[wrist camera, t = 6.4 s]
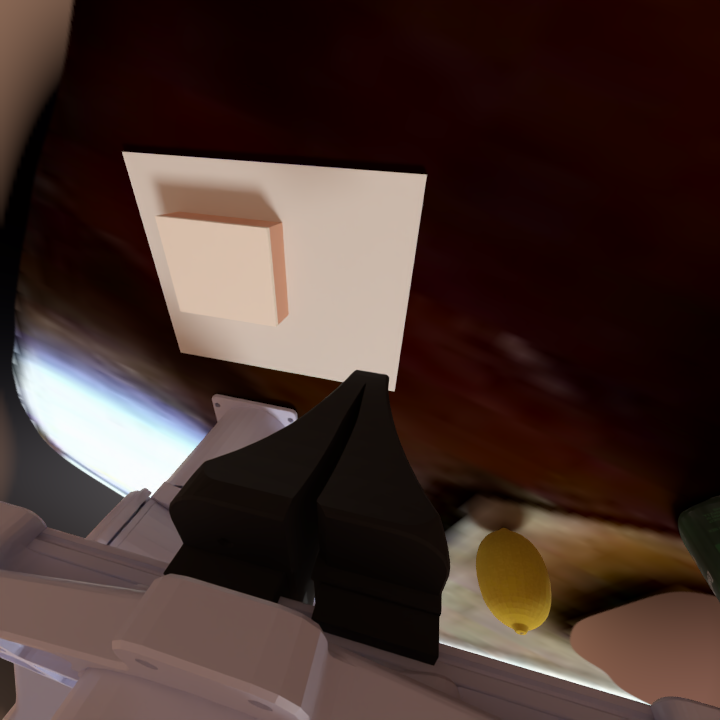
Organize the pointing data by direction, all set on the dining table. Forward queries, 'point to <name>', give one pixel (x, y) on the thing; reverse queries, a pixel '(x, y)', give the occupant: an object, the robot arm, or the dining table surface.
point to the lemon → (513, 580)
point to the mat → (298, 258)
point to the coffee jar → (704, 539)
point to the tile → (226, 266)
